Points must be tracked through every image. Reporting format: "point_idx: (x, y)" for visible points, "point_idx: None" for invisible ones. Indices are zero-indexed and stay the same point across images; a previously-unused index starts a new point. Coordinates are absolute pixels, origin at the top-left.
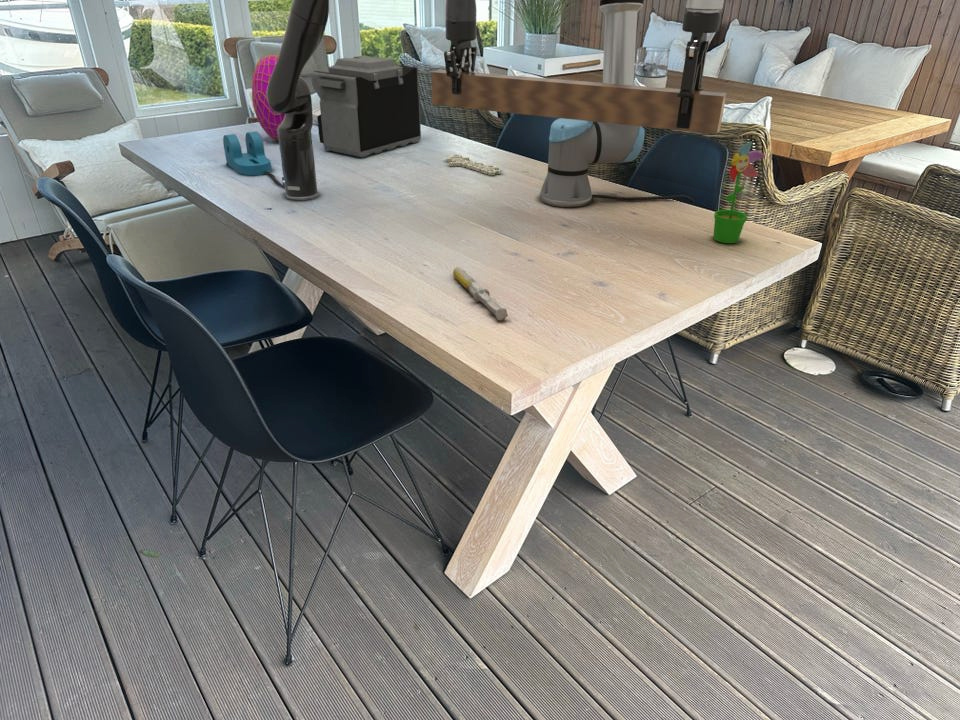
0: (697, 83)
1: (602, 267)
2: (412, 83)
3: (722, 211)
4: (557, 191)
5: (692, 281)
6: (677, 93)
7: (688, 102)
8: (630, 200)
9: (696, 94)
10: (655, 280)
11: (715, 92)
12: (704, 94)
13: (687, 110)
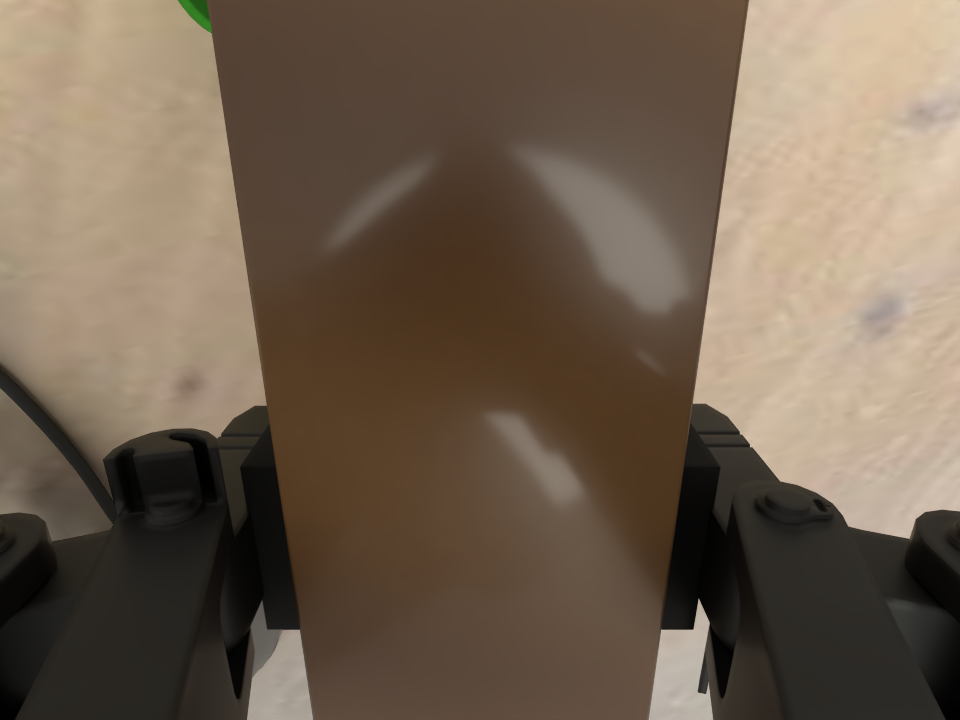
0: (205, 633)
1: (746, 345)
2: None
3: (201, 10)
4: (261, 646)
5: (778, 35)
6: (647, 713)
7: (771, 480)
8: (61, 431)
9: (680, 466)
10: (806, 163)
11: (284, 154)
12: (683, 332)
13: (730, 422)
